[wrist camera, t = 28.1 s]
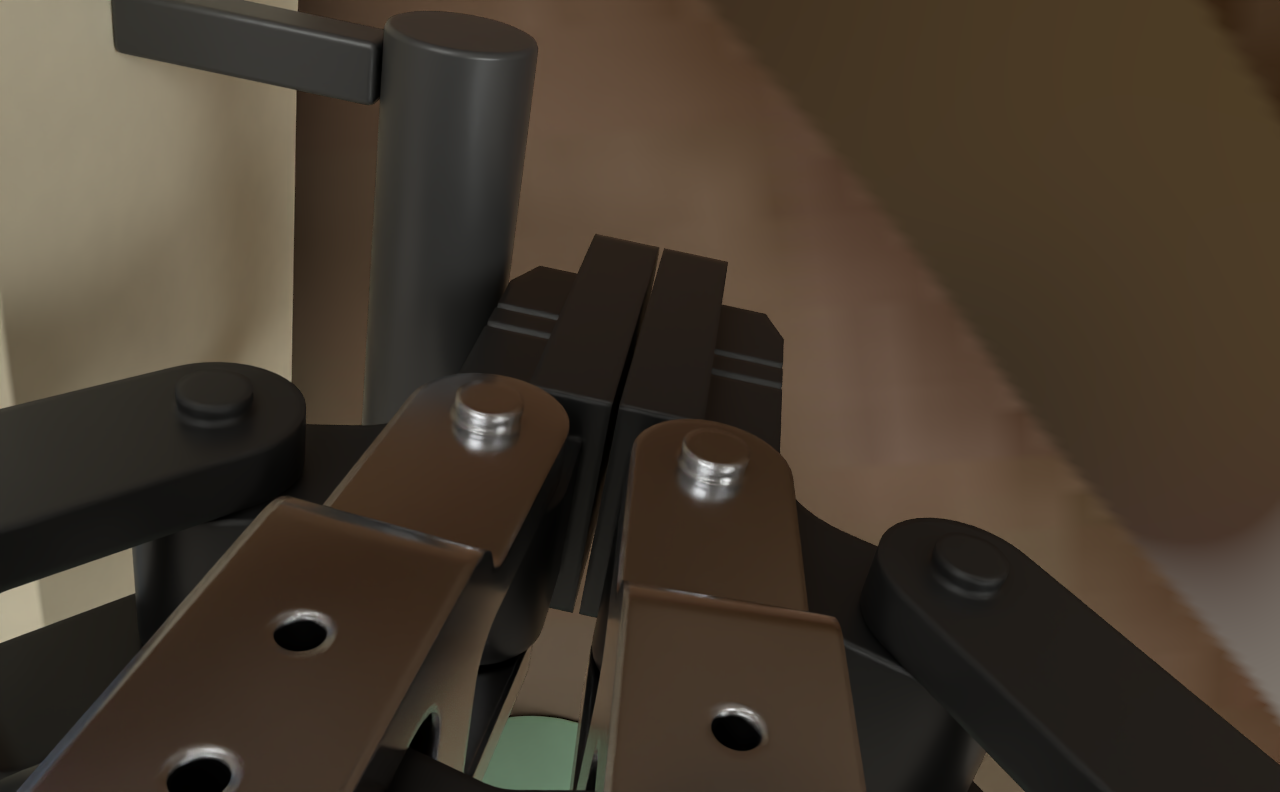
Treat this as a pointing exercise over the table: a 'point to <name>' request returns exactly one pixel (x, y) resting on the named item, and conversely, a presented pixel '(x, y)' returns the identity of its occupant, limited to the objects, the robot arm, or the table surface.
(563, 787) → the bottle
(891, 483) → the table surface
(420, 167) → the drawer
